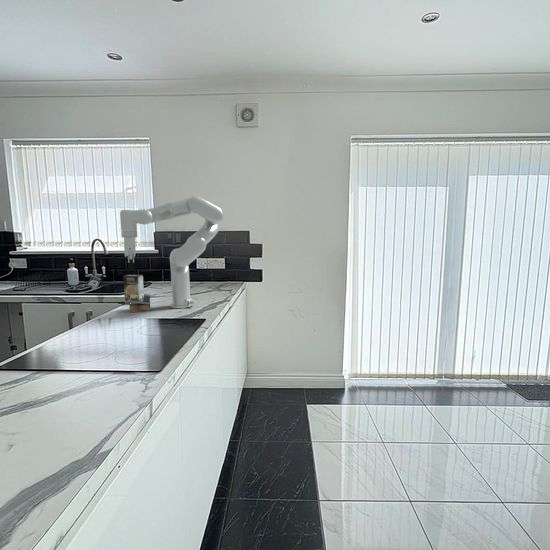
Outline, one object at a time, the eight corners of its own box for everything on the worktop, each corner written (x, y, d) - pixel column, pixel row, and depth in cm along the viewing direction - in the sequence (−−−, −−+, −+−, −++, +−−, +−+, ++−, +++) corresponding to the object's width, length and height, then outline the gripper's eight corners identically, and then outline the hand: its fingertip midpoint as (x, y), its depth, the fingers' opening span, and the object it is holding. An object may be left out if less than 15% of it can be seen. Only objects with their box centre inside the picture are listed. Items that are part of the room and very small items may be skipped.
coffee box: (124, 303, 197) (122, 275, 195) (130, 301, 204) (128, 274, 201) (139, 304, 196) (137, 276, 194) (144, 301, 203) (143, 274, 201)
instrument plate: (149, 301, 187) (150, 294, 187) (150, 304, 180) (151, 296, 179) (129, 299, 183) (130, 292, 183) (129, 302, 176) (130, 294, 176)
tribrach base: (149, 307, 187) (149, 301, 187) (150, 310, 180) (150, 304, 180) (129, 309, 184) (129, 303, 183) (129, 312, 176) (129, 306, 176)
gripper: (121, 234, 181) (124, 269, 184) (120, 234, 167) (123, 272, 170) (137, 234, 184) (139, 268, 186) (137, 234, 170) (139, 271, 173)
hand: (131, 270), depth 178 cm, fingers closed
